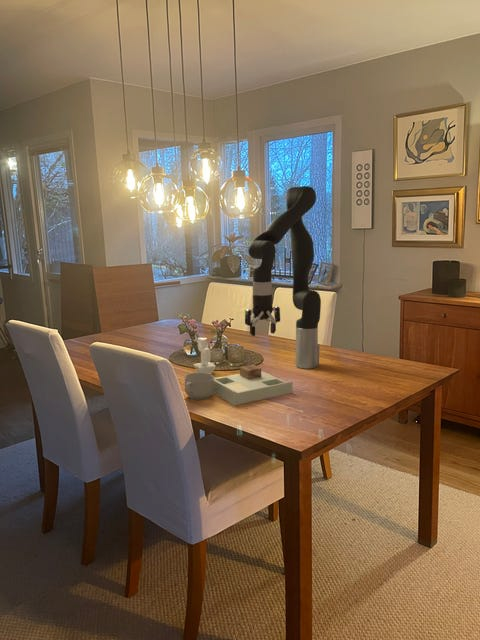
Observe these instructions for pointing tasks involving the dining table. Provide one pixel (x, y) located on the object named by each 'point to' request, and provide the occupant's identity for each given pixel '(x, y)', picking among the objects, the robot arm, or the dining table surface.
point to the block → (250, 372)
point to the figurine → (204, 357)
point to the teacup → (199, 385)
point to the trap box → (250, 388)
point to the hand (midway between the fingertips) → (262, 334)
